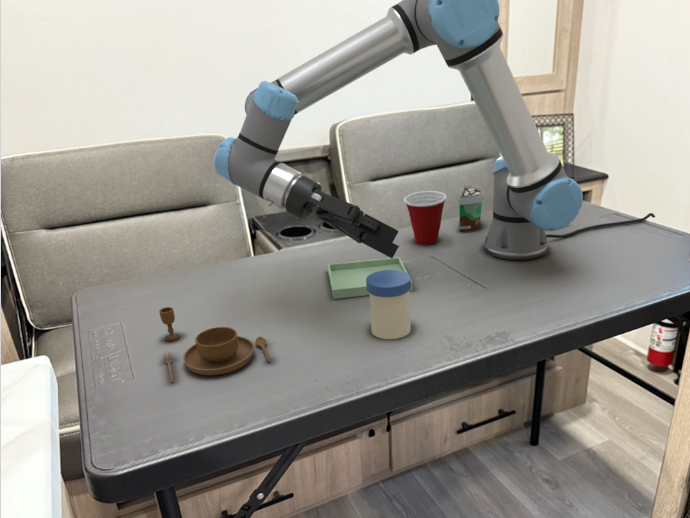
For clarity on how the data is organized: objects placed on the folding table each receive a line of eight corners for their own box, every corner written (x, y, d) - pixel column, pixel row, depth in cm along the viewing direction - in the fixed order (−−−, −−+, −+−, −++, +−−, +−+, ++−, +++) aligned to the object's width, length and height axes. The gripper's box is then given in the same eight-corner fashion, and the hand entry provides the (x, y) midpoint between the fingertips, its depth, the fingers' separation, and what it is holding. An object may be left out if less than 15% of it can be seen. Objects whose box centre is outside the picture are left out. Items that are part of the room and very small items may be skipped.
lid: (357, 292, 108) (356, 282, 108) (381, 276, 115) (381, 266, 114) (396, 300, 104) (396, 290, 104) (419, 283, 111) (418, 274, 110)
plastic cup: (396, 242, 157) (394, 197, 152) (423, 231, 164) (422, 188, 159) (428, 251, 150) (427, 204, 145) (455, 240, 157) (455, 194, 152)
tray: (400, 265, 142) (399, 256, 141) (412, 290, 129) (412, 281, 128) (328, 272, 140) (327, 264, 139) (333, 299, 126) (332, 290, 126)
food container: (482, 234, 160) (482, 197, 156) (459, 233, 161) (459, 197, 157) (485, 220, 171) (486, 185, 167) (463, 219, 172) (464, 185, 168)
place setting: (169, 390, 97) (161, 358, 95) (160, 337, 114) (154, 309, 111) (276, 364, 103) (272, 334, 101) (253, 317, 120) (249, 290, 117)
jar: (406, 318, 117) (405, 270, 113) (414, 336, 110) (413, 286, 106) (369, 323, 116) (365, 274, 112) (374, 341, 109) (371, 290, 105)
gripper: (295, 225, 123) (387, 273, 122) (269, 190, 99) (383, 251, 98) (313, 193, 124) (404, 241, 123) (291, 151, 99) (405, 211, 98)
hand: (395, 245), depth 110 cm, fingers open, 13 cm apart
